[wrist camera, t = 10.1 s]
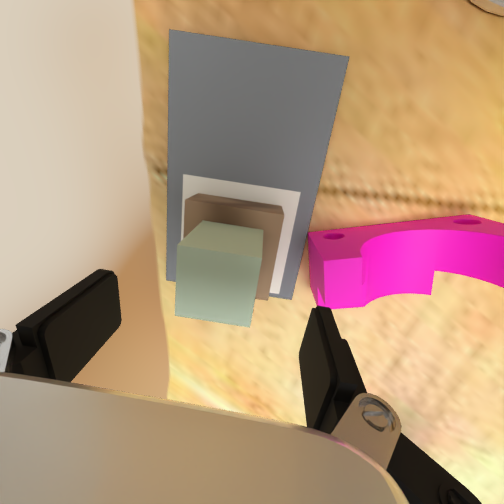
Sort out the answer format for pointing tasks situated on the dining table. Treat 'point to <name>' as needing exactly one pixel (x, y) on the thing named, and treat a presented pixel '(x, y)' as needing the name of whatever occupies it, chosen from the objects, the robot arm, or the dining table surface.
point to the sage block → (218, 273)
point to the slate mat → (249, 133)
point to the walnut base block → (245, 216)
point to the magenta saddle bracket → (401, 258)
